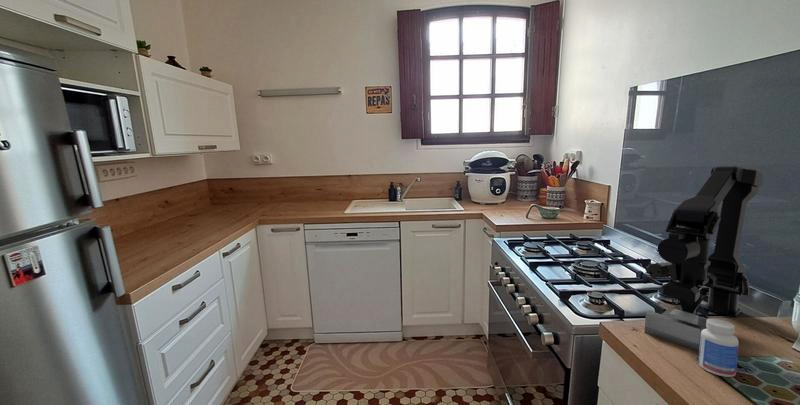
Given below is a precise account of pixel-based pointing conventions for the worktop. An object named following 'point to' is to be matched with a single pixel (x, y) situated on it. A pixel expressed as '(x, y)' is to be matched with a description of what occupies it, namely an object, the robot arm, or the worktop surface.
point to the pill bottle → (719, 348)
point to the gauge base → (675, 328)
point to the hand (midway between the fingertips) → (687, 317)
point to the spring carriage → (684, 316)
